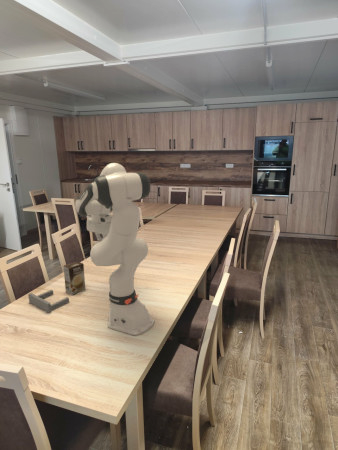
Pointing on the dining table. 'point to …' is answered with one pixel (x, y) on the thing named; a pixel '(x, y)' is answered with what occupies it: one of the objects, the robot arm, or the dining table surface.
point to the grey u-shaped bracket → (45, 305)
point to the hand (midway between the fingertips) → (101, 241)
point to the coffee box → (74, 277)
